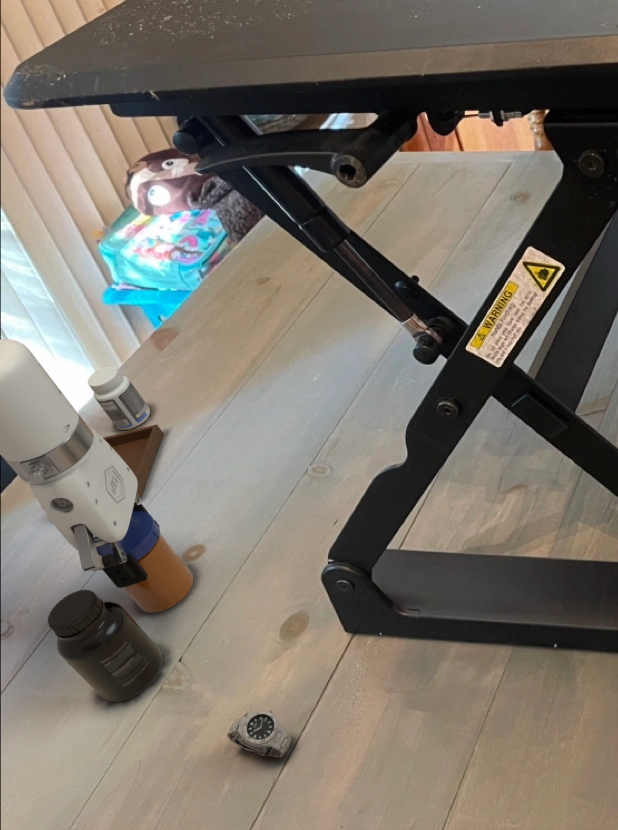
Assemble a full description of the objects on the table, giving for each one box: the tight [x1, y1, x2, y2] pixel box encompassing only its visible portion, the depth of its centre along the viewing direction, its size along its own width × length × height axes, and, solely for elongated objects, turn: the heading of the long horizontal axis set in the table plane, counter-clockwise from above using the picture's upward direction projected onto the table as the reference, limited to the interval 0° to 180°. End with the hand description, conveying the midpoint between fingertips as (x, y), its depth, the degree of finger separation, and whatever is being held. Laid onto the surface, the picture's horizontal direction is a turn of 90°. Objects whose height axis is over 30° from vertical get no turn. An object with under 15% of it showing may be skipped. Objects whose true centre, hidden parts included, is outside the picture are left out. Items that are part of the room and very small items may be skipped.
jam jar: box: [123, 532, 194, 614], centre depth 120 cm, size 6×6×9 cm
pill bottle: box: [87, 365, 151, 431], centre depth 147 cm, size 5×5×8 cm
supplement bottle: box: [47, 588, 164, 702], centre depth 110 cm, size 7×7×12 cm
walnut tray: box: [102, 424, 164, 499], centre depth 140 cm, size 11×12×2 cm
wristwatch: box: [226, 710, 292, 759], centre depth 103 cm, size 4×6×5 cm, turn 74°
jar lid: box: [94, 511, 161, 561], centre depth 117 cm, size 7×7×2 cm
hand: (138, 556), depth 119 cm, fingers closed on jar lid, 6 cm apart
